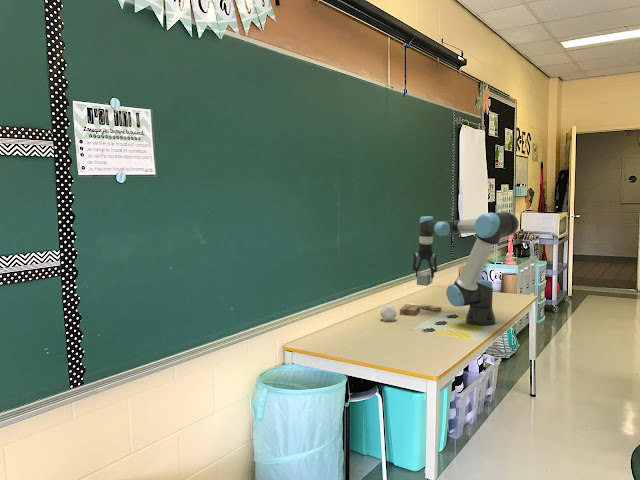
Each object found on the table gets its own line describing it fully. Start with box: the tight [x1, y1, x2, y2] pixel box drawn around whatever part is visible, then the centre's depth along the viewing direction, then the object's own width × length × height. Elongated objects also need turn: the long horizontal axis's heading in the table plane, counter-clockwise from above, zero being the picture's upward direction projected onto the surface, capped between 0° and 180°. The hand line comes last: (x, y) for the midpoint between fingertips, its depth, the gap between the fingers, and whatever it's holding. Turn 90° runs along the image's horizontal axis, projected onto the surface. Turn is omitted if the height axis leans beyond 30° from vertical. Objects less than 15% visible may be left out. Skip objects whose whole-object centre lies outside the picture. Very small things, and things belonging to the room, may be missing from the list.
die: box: [380, 304, 398, 322], centre depth 276 cm, size 8×9×10 cm
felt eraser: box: [419, 304, 442, 313], centre depth 299 cm, size 12×4×3 cm, turn 43°
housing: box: [416, 271, 434, 287], centre depth 289 cm, size 6×10×6 cm, turn 150°
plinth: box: [399, 304, 421, 317], centre depth 293 cm, size 9×13×3 cm
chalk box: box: [405, 302, 419, 306], centre depth 302 cm, size 8×4×3 cm, turn 50°
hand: (424, 283), depth 289 cm, fingers closed on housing, 6 cm apart
